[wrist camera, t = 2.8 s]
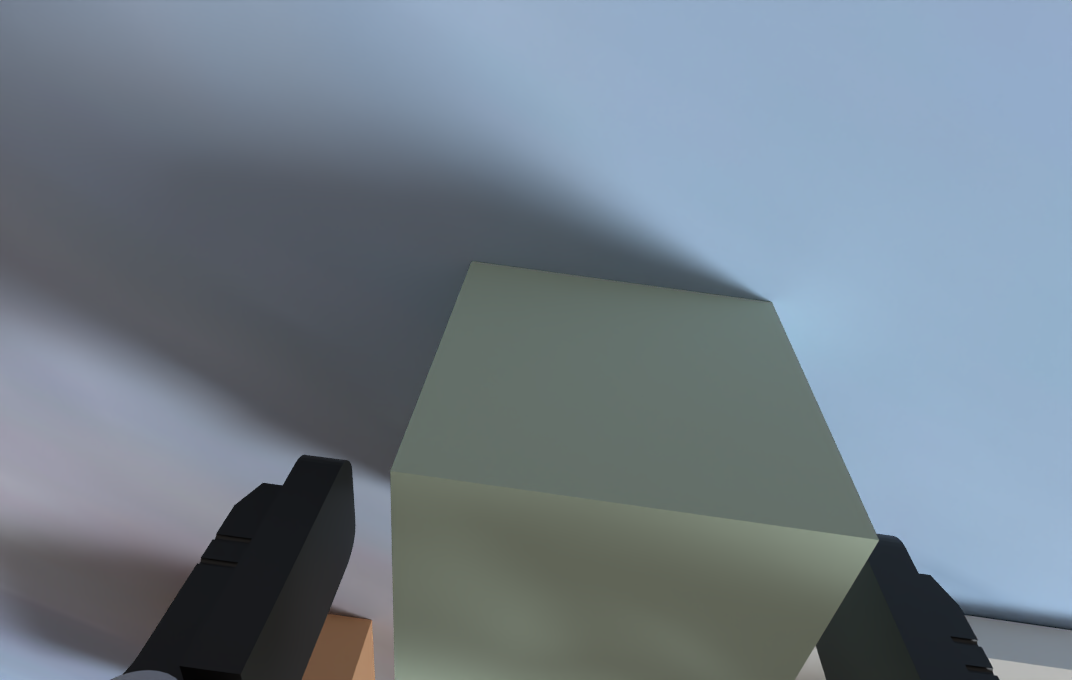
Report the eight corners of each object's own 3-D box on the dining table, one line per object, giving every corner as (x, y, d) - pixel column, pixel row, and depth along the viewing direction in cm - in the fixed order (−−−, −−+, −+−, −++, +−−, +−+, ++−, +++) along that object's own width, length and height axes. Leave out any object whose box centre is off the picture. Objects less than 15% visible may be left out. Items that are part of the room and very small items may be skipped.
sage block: (472, 258, 11) (389, 471, 7) (771, 299, 11) (879, 540, 7) (457, 506, 14) (396, 753, 10) (685, 538, 14) (721, 801, 10)
